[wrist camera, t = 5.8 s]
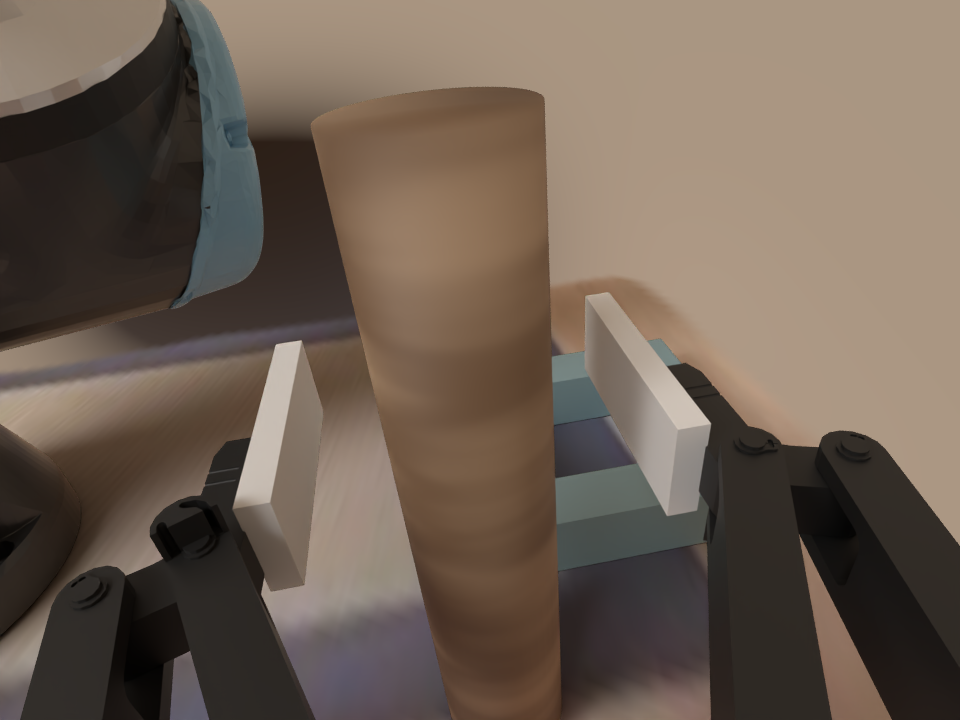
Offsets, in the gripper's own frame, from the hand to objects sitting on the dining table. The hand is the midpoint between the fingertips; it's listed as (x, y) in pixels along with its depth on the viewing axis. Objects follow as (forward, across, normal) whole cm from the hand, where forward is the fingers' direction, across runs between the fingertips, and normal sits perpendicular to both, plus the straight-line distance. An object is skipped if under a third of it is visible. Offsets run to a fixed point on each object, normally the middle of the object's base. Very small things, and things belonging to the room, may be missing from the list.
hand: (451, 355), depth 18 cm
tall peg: (-5, 0, -12) cm, 13 cm away
